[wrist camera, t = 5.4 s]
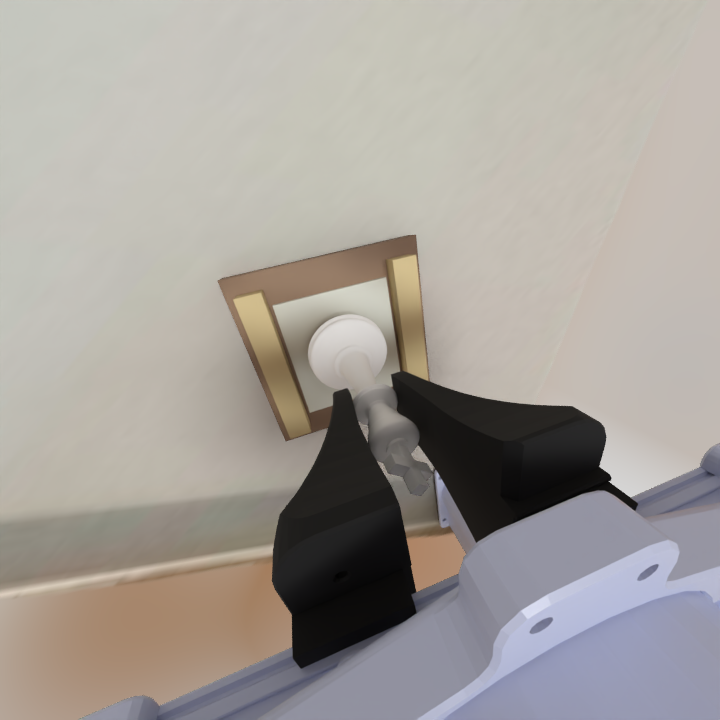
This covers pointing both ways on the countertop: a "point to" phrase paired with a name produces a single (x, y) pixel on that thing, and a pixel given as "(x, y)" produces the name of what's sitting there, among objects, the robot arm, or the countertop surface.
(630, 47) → the countertop surface
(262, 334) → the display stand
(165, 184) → the countertop surface
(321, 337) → the chess piece
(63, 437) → the countertop surface
